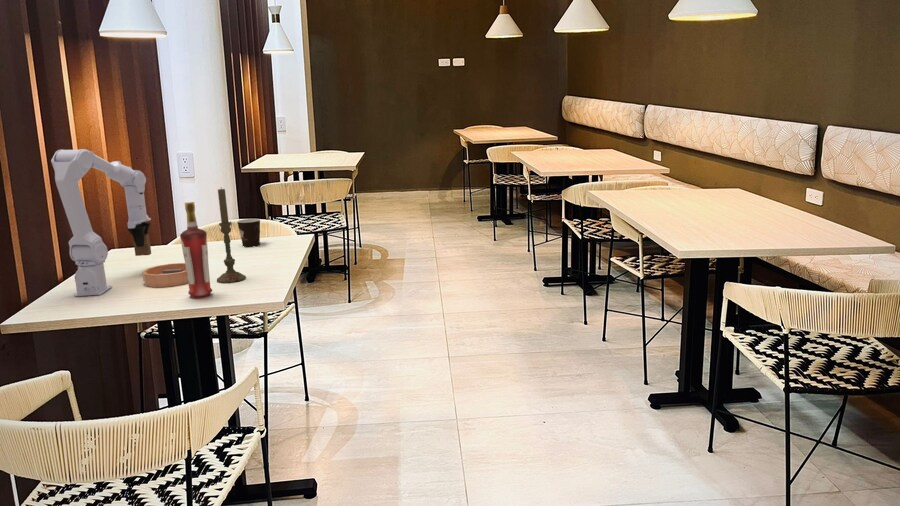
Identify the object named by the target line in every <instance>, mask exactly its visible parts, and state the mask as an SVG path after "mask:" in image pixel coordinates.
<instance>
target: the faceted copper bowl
mask: <svg viewBox="0 0 900 506" xmlns="http://www.w3.org/2000/svg"><path fill="white" fill-rule="evenodd" d="M141 272H142V281H143V282H144V285H145V286H146V287H148V288H169V287H170V288H171V287H178V286H182V285H186V284H188V277H187V271H186V265H185V262H175V263H174V262H173V263H167V264H159V265H156V266H152V267H148V268H146V269H144V270H143V271H141Z"/></svg>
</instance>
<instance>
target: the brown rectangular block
mask: <svg viewBox="0 0 900 506" xmlns="http://www.w3.org/2000/svg"><path fill="white" fill-rule="evenodd" d="M132 240H133V246H134V247H133V248H134V254H135V257H138V256H140V257H142V256H150V255H151V254H152V249H151V248H152V247H151V240H150V234H149V233H148V234H144V246H143V247H137V246H136V244H135V241H134V239H132Z"/></svg>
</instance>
